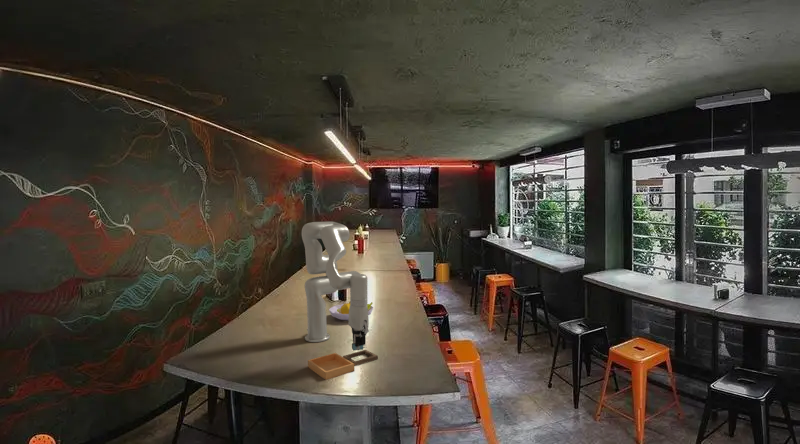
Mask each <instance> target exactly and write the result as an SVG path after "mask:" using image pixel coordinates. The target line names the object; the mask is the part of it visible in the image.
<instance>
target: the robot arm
mask: <svg viewBox="0 0 800 444" xmlns="http://www.w3.org/2000/svg"><path fill="white" fill-rule="evenodd" d="M350 236H351V235H350V230H349V228H348V227H347V226H346V225H344V224H342V223H339V222H336V221H313V222H308V223H305V224H304V225H303V226H302V229H301V239H302V243H303V246H304V249H305V250H304V252H305V265H306V271H307V273H308V274H309V275H318V276H314V277H310V278H308V279H307V280H305V282H304V292H305V297H306V308H307V309H306V310H307V312H306V313H307V315H306V316H307V329H306V330H307V335H305V336H304V340H305V341H306V342H310V343H321V342H325V341H328V340H329V339H330V338H331V335H330V334H329V333H328V332H327V331H328V330H327V326H328V325H327V324H328V323H327V302H326V301H325V299H324V298H323V296H324V295H329V294H333V293H336V292H337V291H342V290H346V289H349V291H350V292H349V297H350V298H349V302H350V308H349V321H347V322H348V326H349V327H350V328H351V330H352V329H353V328H354V329H356V330H358V331H360V332H359V335H360V336H359V346H361V345H367V343H366V342H367V341H366V337H367V334H368V333H369V332H370V329H369V324H370V322H369V321H370V320H369V315H368V308H367V304H368V275H366V274H363V273H361V272H359V271H357V270H351V271H343V272H338V271H339V270H338V262H337V261H339V260H341V259H342V258H344V257H345V256H346V254H347V248H346V247H345V245H344V242H347V241H348V240H349V239H350ZM319 239H321V241H322V243H323V246H324V248H325V251H326V253H327V254H323V247H322V244H321V243H320V241H319ZM321 274H322V276H319V275H321ZM323 274H325V275H323ZM362 331H363V332H362ZM355 338H356V335H355ZM353 342H354V334H353V333H352V343H353Z"/></svg>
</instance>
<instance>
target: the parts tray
mask: <svg viewBox="0 0 800 444" xmlns="http://www.w3.org/2000/svg"><path fill="white" fill-rule="evenodd" d="M307 367H308V368H309V370H311V371H312V372H314V373H315V374H317V375H318V376H320V377H321V378H323V379H324V380H325V381H327V380H331V379H333V378H336V377H340V376H343V375H346V374H349V373H353V372H355V371H356V369H355V366H354V363H352V362H350V361H349V360H347V359H345V358H344V357H343V355H342V356H341V354H338V353H336V352H333V353H330V354H326V355H322V356H318V357H315V358H311V359H308V360H307Z"/></svg>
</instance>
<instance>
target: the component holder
mask: <svg viewBox="0 0 800 444" xmlns="http://www.w3.org/2000/svg"><path fill="white" fill-rule="evenodd" d="M364 355H366V356H368V357H366V358H361V359H358V360H354V359H353V358H357V357H360V356H364ZM342 357H344V358H345V359H347V360H349V361H350V362H352V363H354V367H357V366H361V365H363V364H366V363H370V362H373V361H376V360H378V359H379V356H378V355H377V354H375V353H373V352H371V351H369V350H367V349H363V350H358V351H354V352H353V353H349V354H345V355H342Z"/></svg>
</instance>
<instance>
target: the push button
mask: <svg viewBox="0 0 800 444" xmlns="http://www.w3.org/2000/svg"><path fill="white" fill-rule="evenodd" d="M359 332H360V331H358V330H356V329H354V328H353V329H352V328H351V333H352V335H353V334H354V342H353V341H352V342H351V350H352V351H354V352H355V351H362V350H364V348H366V347H367V344H365V345H361V346H359V336H360V335H359ZM362 332H363V331H362ZM355 335H356V338H355Z"/></svg>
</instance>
